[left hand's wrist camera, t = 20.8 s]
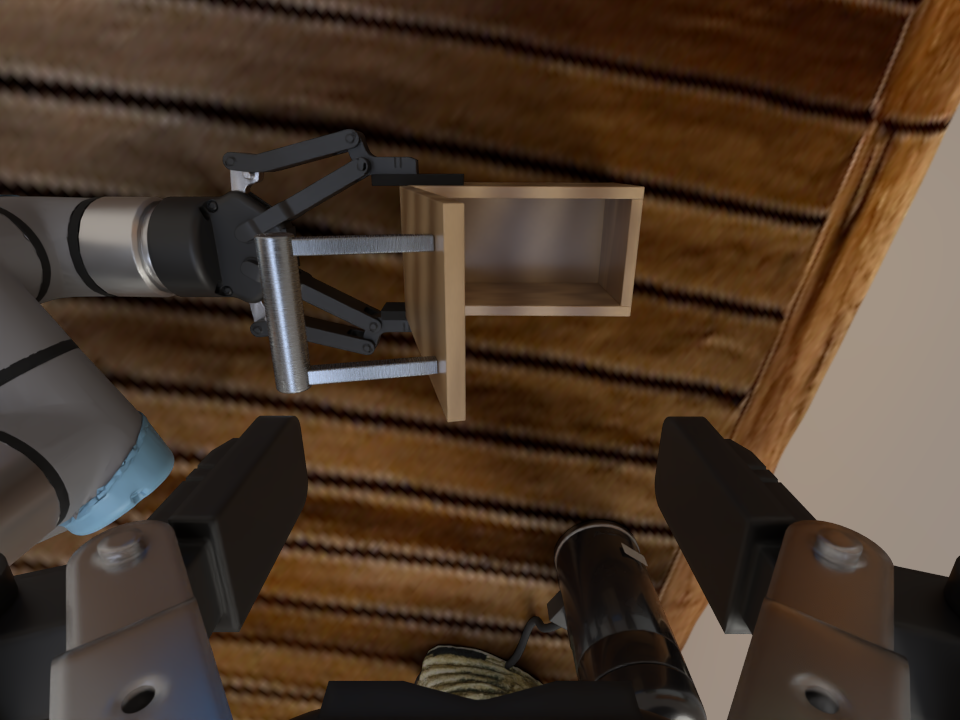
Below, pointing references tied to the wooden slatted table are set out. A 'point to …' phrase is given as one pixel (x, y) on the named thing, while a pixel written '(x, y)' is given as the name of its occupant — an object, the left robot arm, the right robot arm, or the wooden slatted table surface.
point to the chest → (548, 247)
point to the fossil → (471, 673)
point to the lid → (428, 299)
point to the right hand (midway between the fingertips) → (464, 248)
